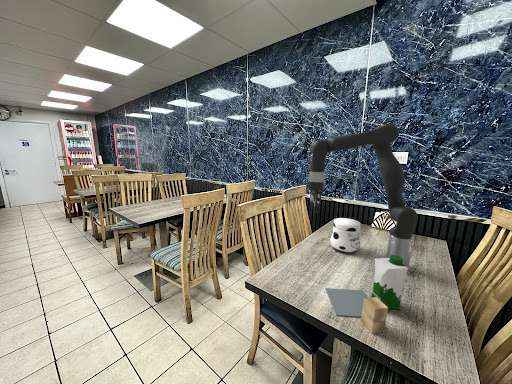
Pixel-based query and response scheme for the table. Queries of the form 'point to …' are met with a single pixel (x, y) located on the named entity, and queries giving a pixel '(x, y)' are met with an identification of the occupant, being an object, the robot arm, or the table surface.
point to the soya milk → (389, 281)
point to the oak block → (374, 314)
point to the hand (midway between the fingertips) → (314, 211)
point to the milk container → (346, 235)
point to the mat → (347, 301)
